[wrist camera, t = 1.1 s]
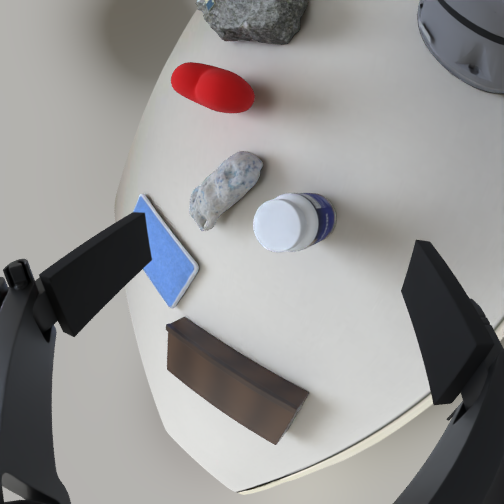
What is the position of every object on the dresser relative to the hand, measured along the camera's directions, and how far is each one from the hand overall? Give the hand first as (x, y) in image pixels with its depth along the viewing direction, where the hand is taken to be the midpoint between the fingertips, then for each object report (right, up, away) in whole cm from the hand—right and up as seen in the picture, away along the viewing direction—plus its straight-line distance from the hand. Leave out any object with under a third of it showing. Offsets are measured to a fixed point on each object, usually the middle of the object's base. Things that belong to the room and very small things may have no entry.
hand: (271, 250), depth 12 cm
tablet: (-18, 0, +37) cm, 41 cm away
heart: (-2, +21, +22) cm, 30 cm away
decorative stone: (-4, +9, +26) cm, 27 cm away
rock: (+1, +35, +16) cm, 39 cm away
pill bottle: (+7, +4, +20) cm, 21 cm away
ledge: (-4, -22, +33) cm, 40 cm away
